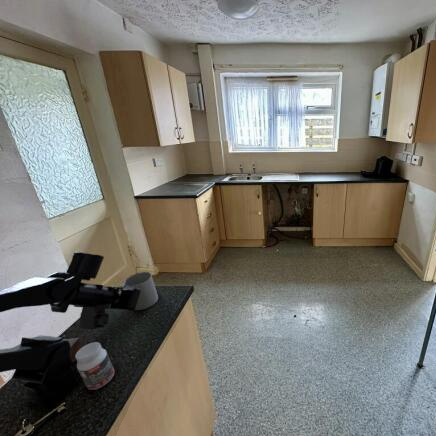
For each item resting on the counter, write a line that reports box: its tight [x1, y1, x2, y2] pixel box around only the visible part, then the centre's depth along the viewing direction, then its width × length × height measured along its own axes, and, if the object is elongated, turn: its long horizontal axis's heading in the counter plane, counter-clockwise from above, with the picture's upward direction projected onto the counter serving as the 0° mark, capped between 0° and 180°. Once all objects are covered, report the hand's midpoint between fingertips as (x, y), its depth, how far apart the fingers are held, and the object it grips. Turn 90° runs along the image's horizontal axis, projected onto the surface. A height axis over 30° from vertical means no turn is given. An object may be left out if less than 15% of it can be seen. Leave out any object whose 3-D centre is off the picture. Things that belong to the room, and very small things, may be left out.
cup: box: [123, 271, 159, 311], centre depth 84 cm, size 8×8×10 cm
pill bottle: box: [75, 341, 115, 391], centre depth 58 cm, size 6×6×10 cm
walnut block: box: [62, 337, 84, 364], centre depth 65 cm, size 4×4×4 cm
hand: (128, 300), depth 78 cm, fingers closed
